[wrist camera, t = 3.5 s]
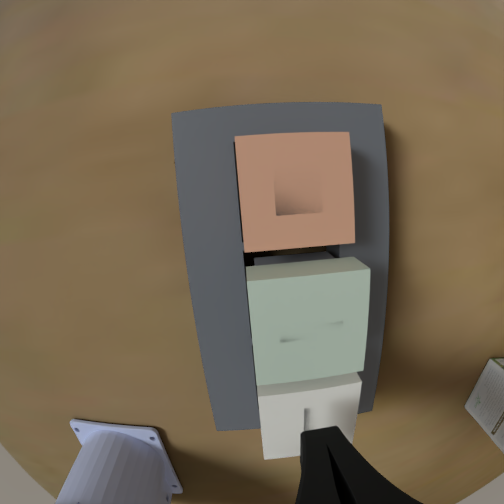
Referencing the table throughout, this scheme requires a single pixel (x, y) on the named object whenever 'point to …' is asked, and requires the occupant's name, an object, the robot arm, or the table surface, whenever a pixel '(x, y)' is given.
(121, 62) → the table surface
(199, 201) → the keypad plate
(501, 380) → the syrup box
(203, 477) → the table surface
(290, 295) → the sage key
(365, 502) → the robot arm
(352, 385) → the ivory key
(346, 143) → the terracotta key
